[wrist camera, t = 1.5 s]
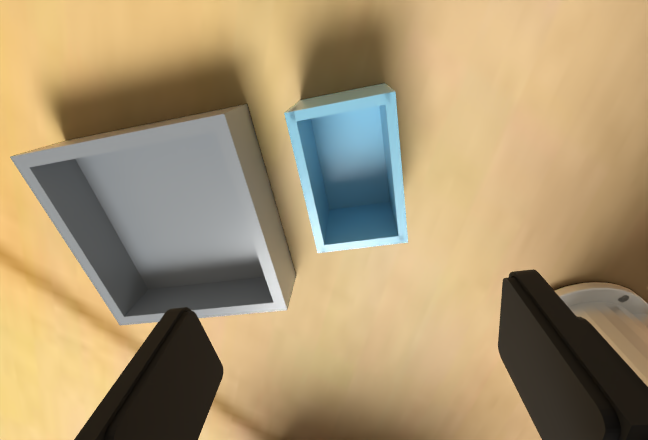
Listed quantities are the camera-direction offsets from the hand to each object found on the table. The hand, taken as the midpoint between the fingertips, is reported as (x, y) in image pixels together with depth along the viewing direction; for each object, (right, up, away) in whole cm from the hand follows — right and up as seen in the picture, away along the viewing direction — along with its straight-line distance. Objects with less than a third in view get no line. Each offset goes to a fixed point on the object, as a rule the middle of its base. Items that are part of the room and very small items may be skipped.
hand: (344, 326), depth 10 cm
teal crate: (+2, +9, +16) cm, 19 cm away
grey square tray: (-13, +4, +20) cm, 25 cm away
